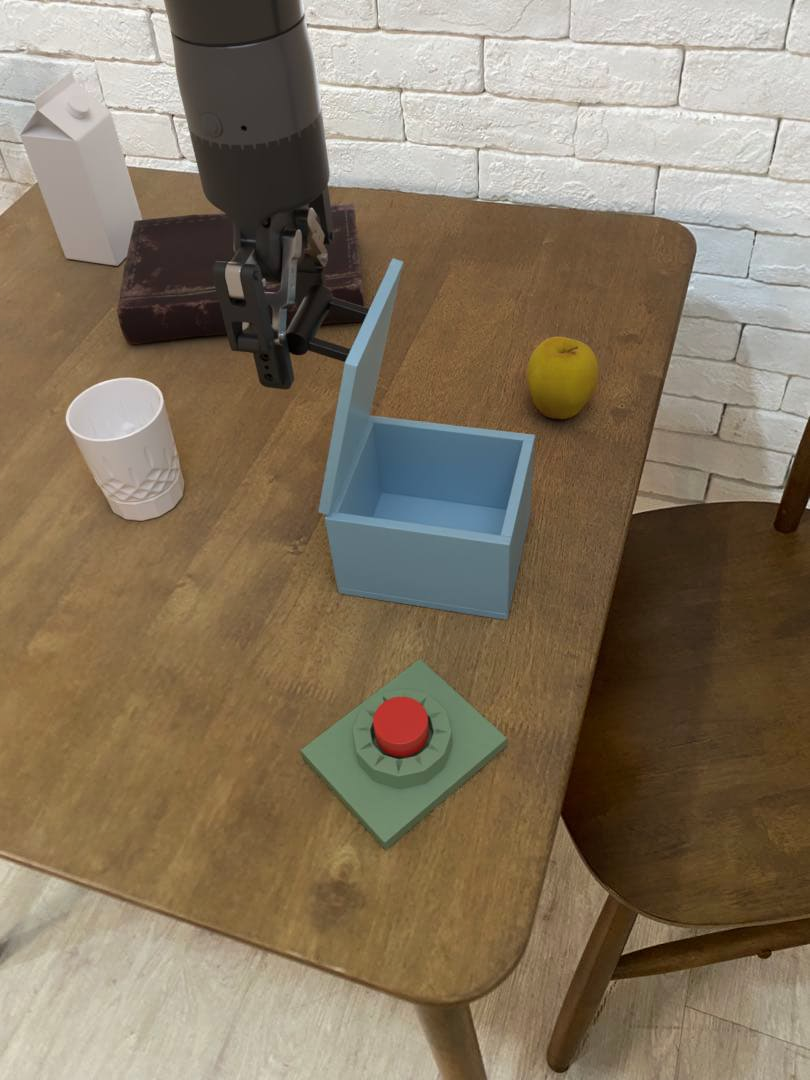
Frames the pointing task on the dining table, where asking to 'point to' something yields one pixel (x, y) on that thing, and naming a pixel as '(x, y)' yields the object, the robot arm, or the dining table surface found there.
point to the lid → (347, 366)
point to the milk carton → (81, 173)
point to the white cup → (128, 446)
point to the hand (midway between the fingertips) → (297, 348)
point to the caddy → (433, 516)
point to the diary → (211, 275)
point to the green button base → (403, 782)
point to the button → (401, 726)
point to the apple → (562, 376)
